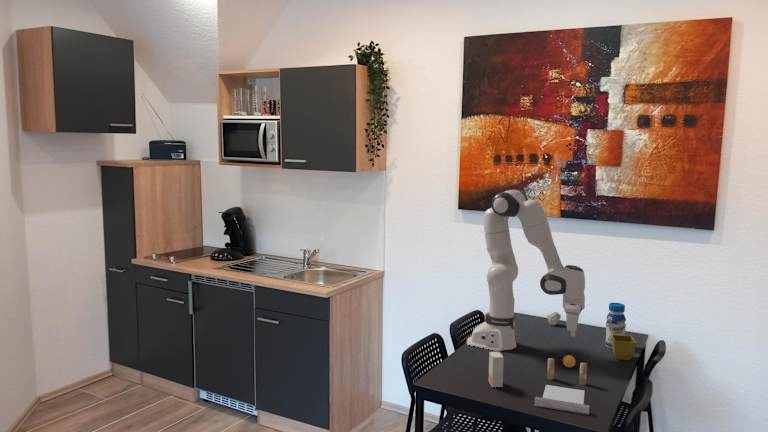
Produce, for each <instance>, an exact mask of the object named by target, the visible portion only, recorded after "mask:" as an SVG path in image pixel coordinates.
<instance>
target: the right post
mask: <svg viewBox="0 0 768 432" xmlns="http://www.w3.org/2000/svg"><path fill="white" fill-rule="evenodd" d="M587 372H588V363H587V362H580V364H579V381H578V384H579V385H581V386H586V385H587V374H588V373H587Z"/></svg>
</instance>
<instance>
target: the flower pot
mask: <svg viewBox="0 0 768 432" xmlns="http://www.w3.org/2000/svg"><path fill="white" fill-rule="evenodd" d="M611 340H612V348H611V349H612V352H613V355H614V356H615V358H616V360H618V361H619V360H620V361H630V360H631V359H632V358H633V356H634V354H635V352H636V347H637V341H636V340H635V338H634V337H633V336H632V335H625V336H623V335H611Z"/></svg>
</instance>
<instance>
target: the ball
mask: <svg viewBox="0 0 768 432" xmlns="http://www.w3.org/2000/svg"><path fill="white" fill-rule="evenodd" d="M562 362H563V363H562V364H563V366H564V367H566V368H568V369H569V368H573V367H574V366H575V365H576V362H577V361H576V359H575V357H574V356H573V355H569V354H568V355H564V357H563V358H562Z"/></svg>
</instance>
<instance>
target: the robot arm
mask: <svg viewBox="0 0 768 432" xmlns="http://www.w3.org/2000/svg"><path fill="white" fill-rule="evenodd" d="M510 217H512V218H515V217H517V218H518V219H519V220H520V224H521V227H522V231H523V233H524V236H525V238H526V240H527V241H528V243H529V244H530V245H532V246H534V247H536V248H537V249H538V250H539V251H540V252H541V254H542V257H543V259H544V262H545V264H546V268H547V273H545V274H544V275H543V276H542V277H541V279H540V282H539V285H540V288H541V290H542V291H543V292H544V293H545V294H546V295H550V296H555V295H562V308H563V310H564V313H565V318H566V321H565V322H566V329H567V331H569V332H570V337H573V338H574V337H575V336H576V332H577V330H578V325H579V319H580V315H581V313H582V311H583V310H585V305H586V304H585V301H586V298H585V289H586V278H585V272H584V270H583V268H582V267H579V266H577V265H574V264H573V265H572V264H571V265H570V264H566V265H565V266H563V264H562V262H561V259H560V256H559V254H558V250H557V248H556V246H555V243H554V239H553V236H552V231H551V228H550V224H549V221H548V218H547V214H546V213H545V210H544V208H543V206H542V205H541V203H540V201H538V200H535V199H528V196H527V194H526V193H525V192H524V191H523V190H520V189H508V190H504V191H502V192H498V193H497V194H496V195H495V196H494V197H493V198H492V201H491V205H490V208H488V209H486V210H485V212H484V214H483V229H484V230H483V231H484V238H485V244H486V249H487V250H486V251H487V252H488V254H489V257H490V260H491V263H492V266H491V267H490V268H489V269H488V271H487V274H486V281H487V285H488V286H487V287H488V294H489V311H486V313H485V315H484V321H483V322H482V323H479V325H477V326H476V327H474V329H473V331H472V334H471V336H469V337H468V338H467V339H466V345H467V346H469V345H470V346H469V347H473V346H475V347H474V348H478V347H479V348H478V349H483V348H484V349H483V350H488V349H489V350H488V351H492V350H493V351H492V352H502V351H510V350H513V349H515V348H517V343H516V337H515V328H516V327H515V326H516V318H515V297H514V289H513V287H514V282H515V280H516V279H517V278H518V275H519V267H518V264H517V260H516V257H515V256H516V255H515V254H514V250H513V247H512V239H511V233H510V226H509V219H510Z"/></svg>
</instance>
